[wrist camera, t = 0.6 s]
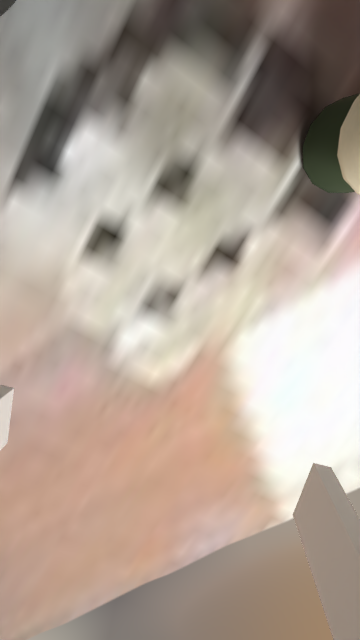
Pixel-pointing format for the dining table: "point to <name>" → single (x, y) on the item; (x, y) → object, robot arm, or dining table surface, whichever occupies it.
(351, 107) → the character mug
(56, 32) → the dining table surface
